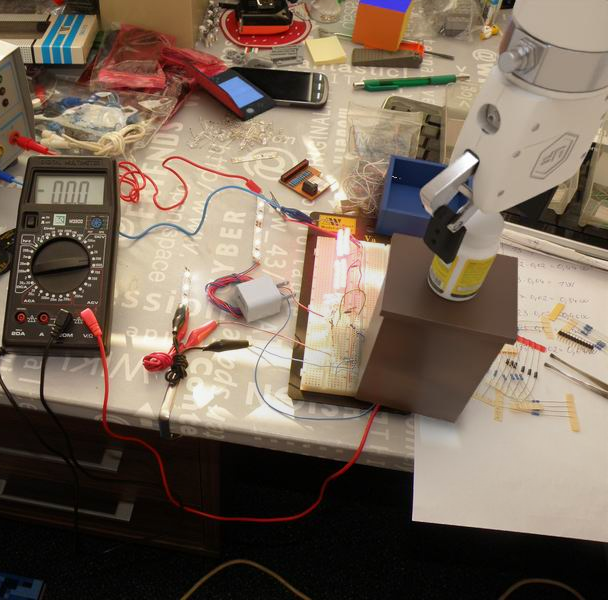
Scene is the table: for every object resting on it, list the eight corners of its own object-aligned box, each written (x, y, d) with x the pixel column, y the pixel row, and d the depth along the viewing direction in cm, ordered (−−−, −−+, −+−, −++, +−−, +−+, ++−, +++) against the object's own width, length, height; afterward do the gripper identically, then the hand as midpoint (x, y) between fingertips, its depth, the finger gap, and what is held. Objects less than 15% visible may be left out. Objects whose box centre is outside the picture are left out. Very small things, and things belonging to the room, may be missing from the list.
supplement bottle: (485, 276, 63) (518, 213, 56) (468, 310, 61) (500, 248, 54) (436, 256, 65) (463, 192, 58) (418, 288, 62) (443, 225, 56)
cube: (405, 33, 121) (416, -10, 115) (394, 56, 117) (405, 12, 110) (363, 23, 123) (371, -20, 117) (350, 45, 119) (358, 2, 112)
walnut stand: (462, 357, 79) (518, 257, 65) (457, 431, 73) (517, 339, 59) (360, 334, 81) (393, 232, 67) (348, 404, 75) (381, 309, 61)
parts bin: (462, 197, 95) (474, 169, 91) (457, 254, 89) (470, 226, 84) (383, 182, 97) (391, 154, 93) (373, 237, 91) (381, 209, 86)
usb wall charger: (234, 302, 84) (235, 282, 81) (283, 286, 85) (286, 266, 82) (247, 326, 82) (248, 307, 78) (298, 309, 83) (301, 289, 80)
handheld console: (279, 109, 108) (283, 68, 102) (226, 135, 104) (227, 94, 98) (231, 72, 114) (232, 32, 108) (179, 95, 110) (178, 55, 104)
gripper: (505, 119, 39) (432, 301, 52) (702, 36, 44) (589, 222, 57) (420, 57, 43) (372, 240, 56) (609, -13, 48) (524, 171, 61)
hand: (482, 230), depth 57 cm, fingers open, 9 cm apart
